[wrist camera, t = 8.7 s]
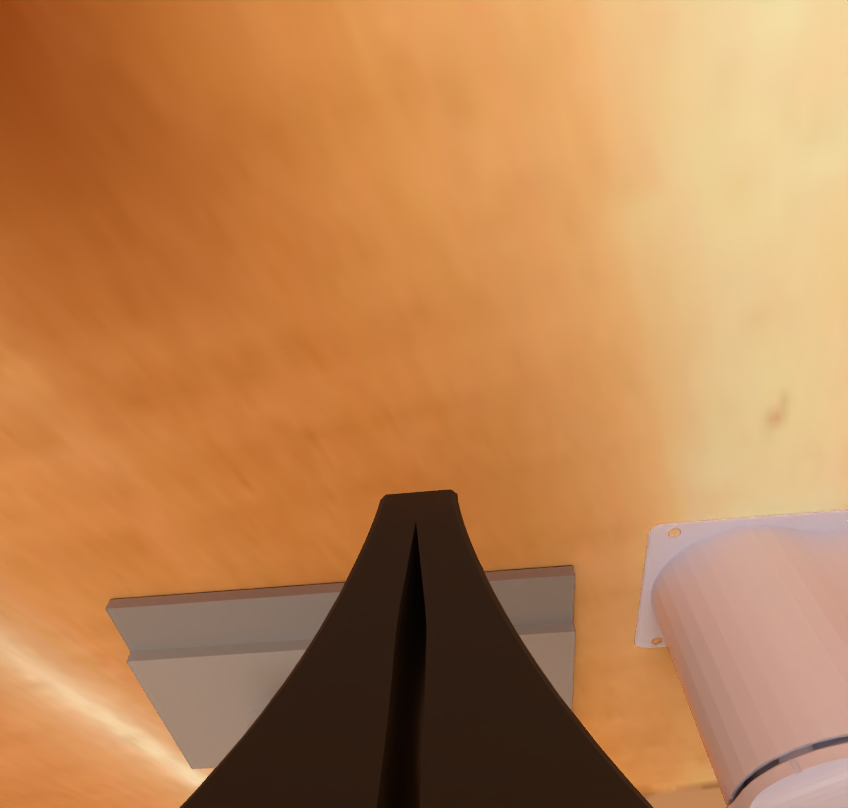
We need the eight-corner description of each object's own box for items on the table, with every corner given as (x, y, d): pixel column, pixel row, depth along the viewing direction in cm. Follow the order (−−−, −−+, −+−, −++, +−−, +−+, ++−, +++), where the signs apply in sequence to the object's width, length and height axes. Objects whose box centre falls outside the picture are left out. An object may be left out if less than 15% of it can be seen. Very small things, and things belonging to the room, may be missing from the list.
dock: (572, 565, 26) (591, 635, 23) (566, 728, 33) (580, 798, 30) (110, 599, 27) (73, 670, 24) (197, 749, 34) (177, 819, 31)
